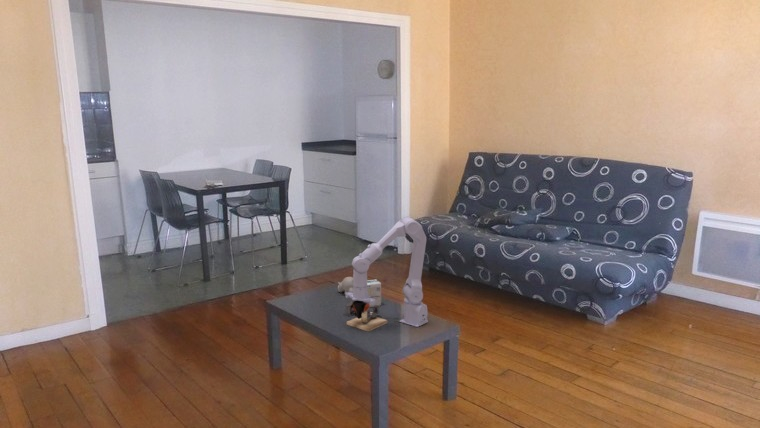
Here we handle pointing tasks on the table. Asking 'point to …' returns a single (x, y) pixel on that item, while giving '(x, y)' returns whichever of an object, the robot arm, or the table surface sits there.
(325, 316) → the table surface
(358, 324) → the board
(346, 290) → the round bodied animal figurine
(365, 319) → the lever
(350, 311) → the anvil
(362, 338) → the table surface
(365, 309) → the tomato
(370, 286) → the light bulb box
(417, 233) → the robot arm
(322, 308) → the table surface
